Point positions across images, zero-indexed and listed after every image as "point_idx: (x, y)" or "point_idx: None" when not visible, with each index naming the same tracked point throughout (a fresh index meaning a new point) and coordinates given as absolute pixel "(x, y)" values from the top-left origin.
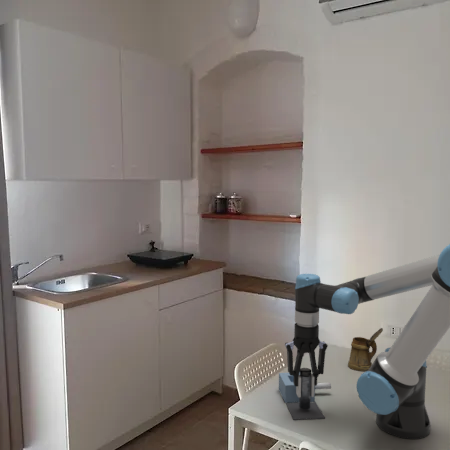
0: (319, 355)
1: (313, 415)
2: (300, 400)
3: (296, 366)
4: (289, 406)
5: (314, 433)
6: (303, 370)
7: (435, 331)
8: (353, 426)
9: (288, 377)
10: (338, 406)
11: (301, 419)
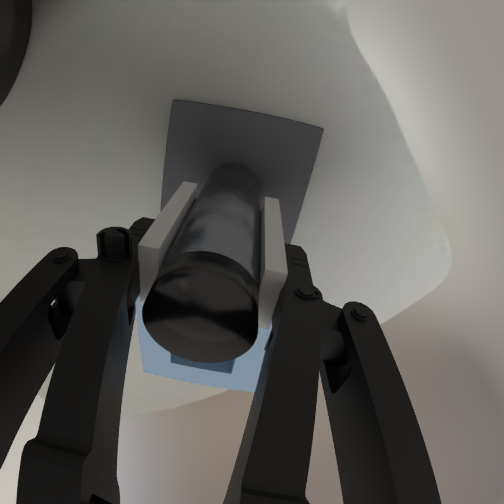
0: (10, 410)
1: (217, 127)
2: (260, 197)
3: (314, 371)
4: (285, 229)
5: (284, 7)
6: (222, 327)
7: None
8: (97, 31)
9: (234, 364)
10: (86, 184)
11: (285, 119)
